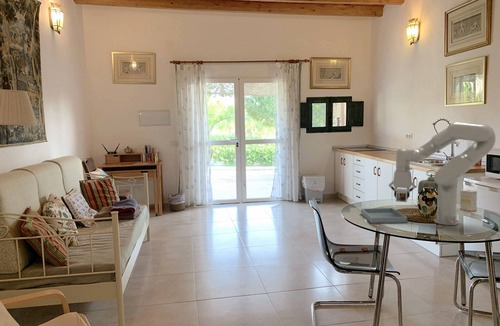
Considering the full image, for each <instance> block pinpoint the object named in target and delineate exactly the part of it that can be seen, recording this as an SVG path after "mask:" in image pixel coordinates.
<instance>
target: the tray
mask: <svg viewBox="0 0 500 326" xmlns="http://www.w3.org/2000/svg"><path fill="white" fill-rule="evenodd" d="M360 215H362V216H363V217H364V218H365V219H366V220H367V221H368V222H369V223H370V224H371V225H376V224H377V225H380V224H382V225H383V224H386V225H387V224H408V217H407V216H406V215H405V214H403V213H401V212H400V211H398V210H396V209H395V208H393V207H383V208H381V207H380V208H379V207H377V208H375V207H374V208H370V207H369V208H360Z"/></svg>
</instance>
